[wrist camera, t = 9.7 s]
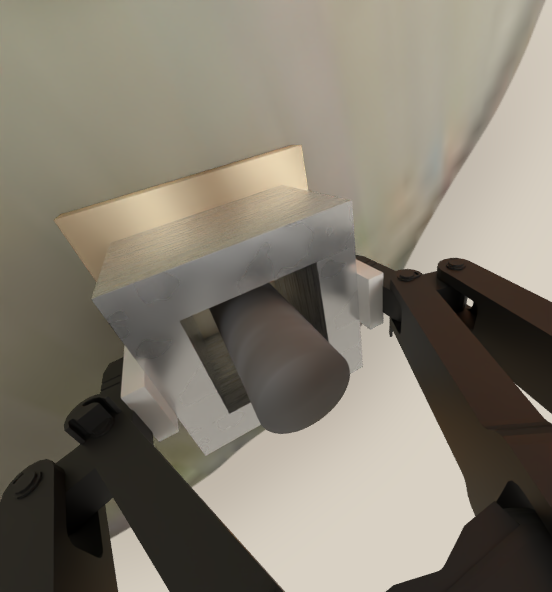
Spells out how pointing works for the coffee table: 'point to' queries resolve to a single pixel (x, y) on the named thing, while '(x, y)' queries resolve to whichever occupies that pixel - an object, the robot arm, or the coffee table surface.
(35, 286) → the coffee table surface
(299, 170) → the shaft block
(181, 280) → the frame
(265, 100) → the coffee table surface
